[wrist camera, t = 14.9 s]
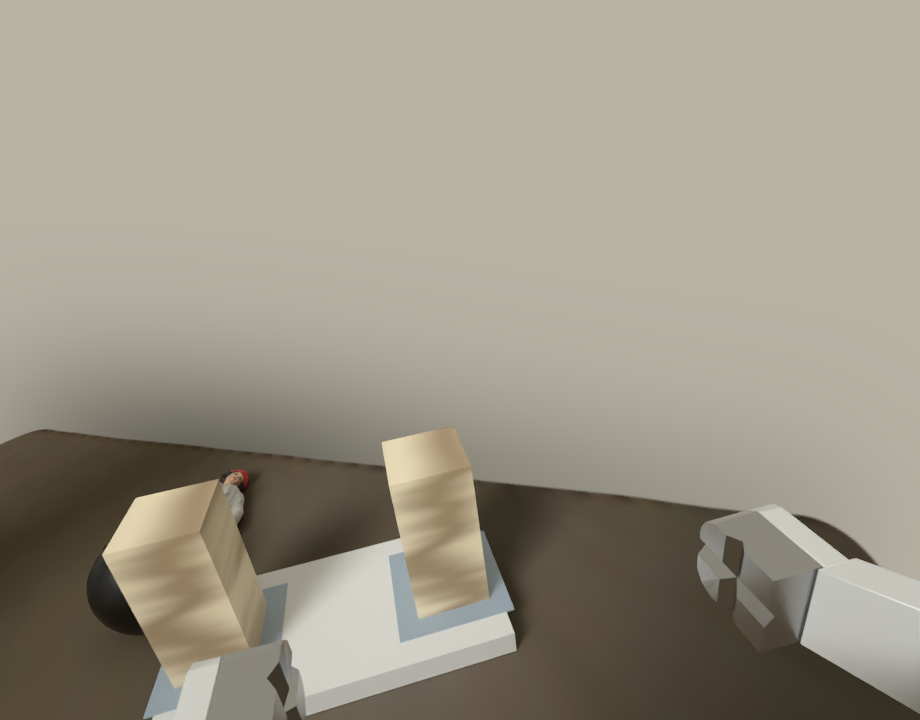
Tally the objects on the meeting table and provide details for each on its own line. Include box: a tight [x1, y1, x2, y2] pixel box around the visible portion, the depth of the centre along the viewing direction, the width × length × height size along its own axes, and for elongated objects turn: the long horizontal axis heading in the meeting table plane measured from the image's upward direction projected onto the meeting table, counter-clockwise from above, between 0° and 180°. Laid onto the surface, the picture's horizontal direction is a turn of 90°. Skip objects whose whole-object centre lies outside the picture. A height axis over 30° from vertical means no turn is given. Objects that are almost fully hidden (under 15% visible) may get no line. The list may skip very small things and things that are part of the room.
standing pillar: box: [102, 479, 267, 689], centre depth 28 cm, size 4×4×10 cm
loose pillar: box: [382, 426, 490, 619], centre depth 31 cm, size 4×4×10 cm
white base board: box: [143, 531, 517, 720], centre depth 32 cm, size 21×10×2 cm, turn 103°
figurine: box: [87, 469, 248, 635], centre depth 40 cm, size 8×7×18 cm
